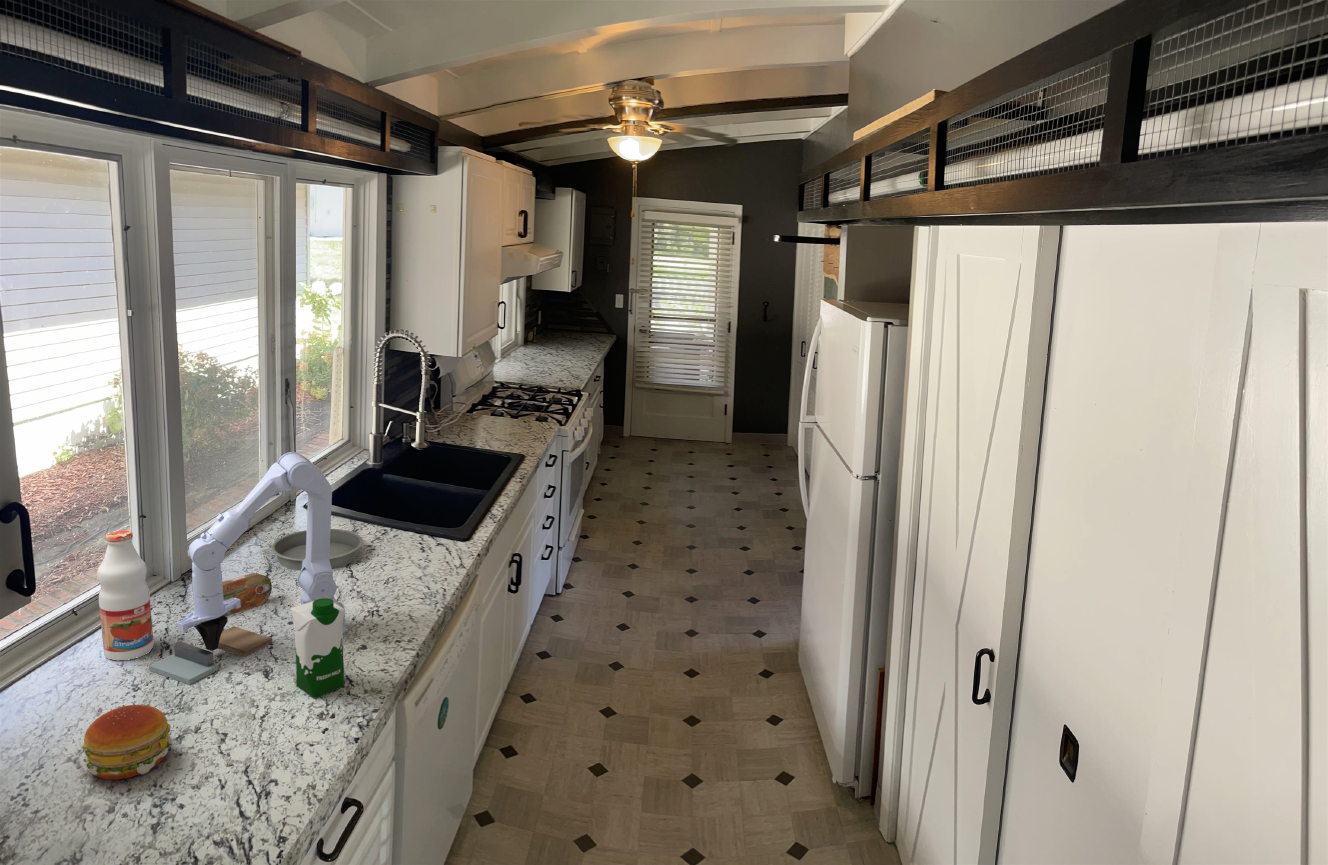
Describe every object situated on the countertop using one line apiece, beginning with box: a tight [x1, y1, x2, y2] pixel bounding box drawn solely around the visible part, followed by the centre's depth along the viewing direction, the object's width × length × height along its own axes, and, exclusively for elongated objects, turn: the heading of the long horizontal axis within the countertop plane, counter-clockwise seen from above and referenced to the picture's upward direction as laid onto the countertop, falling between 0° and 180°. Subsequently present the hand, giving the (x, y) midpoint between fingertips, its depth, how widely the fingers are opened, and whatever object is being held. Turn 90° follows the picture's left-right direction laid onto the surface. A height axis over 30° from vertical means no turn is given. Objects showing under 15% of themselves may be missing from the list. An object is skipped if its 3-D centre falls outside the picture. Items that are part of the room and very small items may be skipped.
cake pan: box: [271, 528, 364, 572], centre depth 246 cm, size 25×25×4 cm
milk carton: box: [290, 598, 345, 699], centre depth 178 cm, size 9×9×20 cm
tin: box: [222, 572, 273, 617], centre depth 211 cm, size 15×3×8 cm, turn 143°
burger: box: [81, 704, 173, 780], centre depth 151 cm, size 13×14×10 cm
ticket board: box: [218, 626, 273, 658], centre depth 195 cm, size 12×8×1 cm, turn 68°
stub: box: [148, 641, 219, 686], centre depth 182 cm, size 12×7×4 cm, turn 68°
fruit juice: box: [96, 529, 154, 660], centre depth 185 cm, size 9×9×28 cm
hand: (212, 648), depth 188 cm, fingers closed
